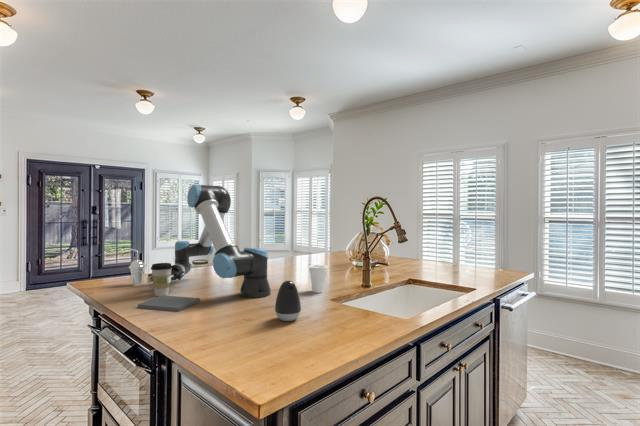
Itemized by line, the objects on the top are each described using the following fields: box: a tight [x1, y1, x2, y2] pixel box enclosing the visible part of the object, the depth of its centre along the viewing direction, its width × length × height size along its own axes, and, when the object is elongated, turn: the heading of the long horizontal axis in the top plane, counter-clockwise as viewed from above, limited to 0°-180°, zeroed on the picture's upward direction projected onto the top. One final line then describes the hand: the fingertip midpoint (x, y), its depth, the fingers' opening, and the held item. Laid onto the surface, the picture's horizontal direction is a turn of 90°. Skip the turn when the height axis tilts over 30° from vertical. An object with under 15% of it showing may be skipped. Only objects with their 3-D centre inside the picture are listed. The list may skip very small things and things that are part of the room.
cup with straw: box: [128, 248, 147, 287], centre depth 193 cm, size 8×9×20 cm
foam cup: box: [308, 264, 328, 294], centre depth 182 cm, size 10×9×13 cm
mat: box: [137, 295, 201, 312], centre depth 155 cm, size 20×16×2 cm
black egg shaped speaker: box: [274, 280, 302, 322], centre depth 137 cm, size 10×10×15 cm
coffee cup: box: [150, 262, 172, 297], centre depth 172 cm, size 10×10×15 cm
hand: (157, 280), depth 168 cm, fingers closed on coffee cup, 9 cm apart
